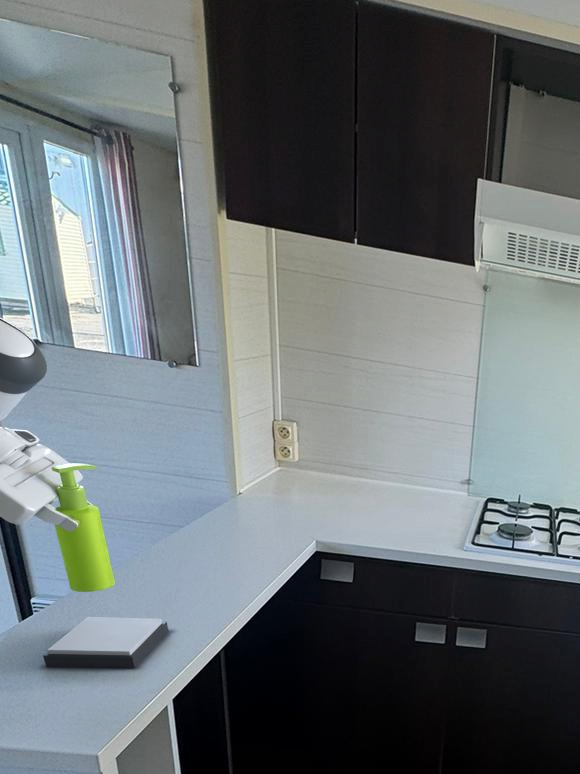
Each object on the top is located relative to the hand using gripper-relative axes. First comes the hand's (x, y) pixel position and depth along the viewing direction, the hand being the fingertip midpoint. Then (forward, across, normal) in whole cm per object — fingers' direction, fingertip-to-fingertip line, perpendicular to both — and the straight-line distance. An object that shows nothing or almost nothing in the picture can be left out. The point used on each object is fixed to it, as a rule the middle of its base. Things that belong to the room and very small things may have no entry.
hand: (85, 520), depth 100 cm
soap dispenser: (+8, 0, +8) cm, 11 cm away
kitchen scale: (+16, 0, +17) cm, 24 cm away
